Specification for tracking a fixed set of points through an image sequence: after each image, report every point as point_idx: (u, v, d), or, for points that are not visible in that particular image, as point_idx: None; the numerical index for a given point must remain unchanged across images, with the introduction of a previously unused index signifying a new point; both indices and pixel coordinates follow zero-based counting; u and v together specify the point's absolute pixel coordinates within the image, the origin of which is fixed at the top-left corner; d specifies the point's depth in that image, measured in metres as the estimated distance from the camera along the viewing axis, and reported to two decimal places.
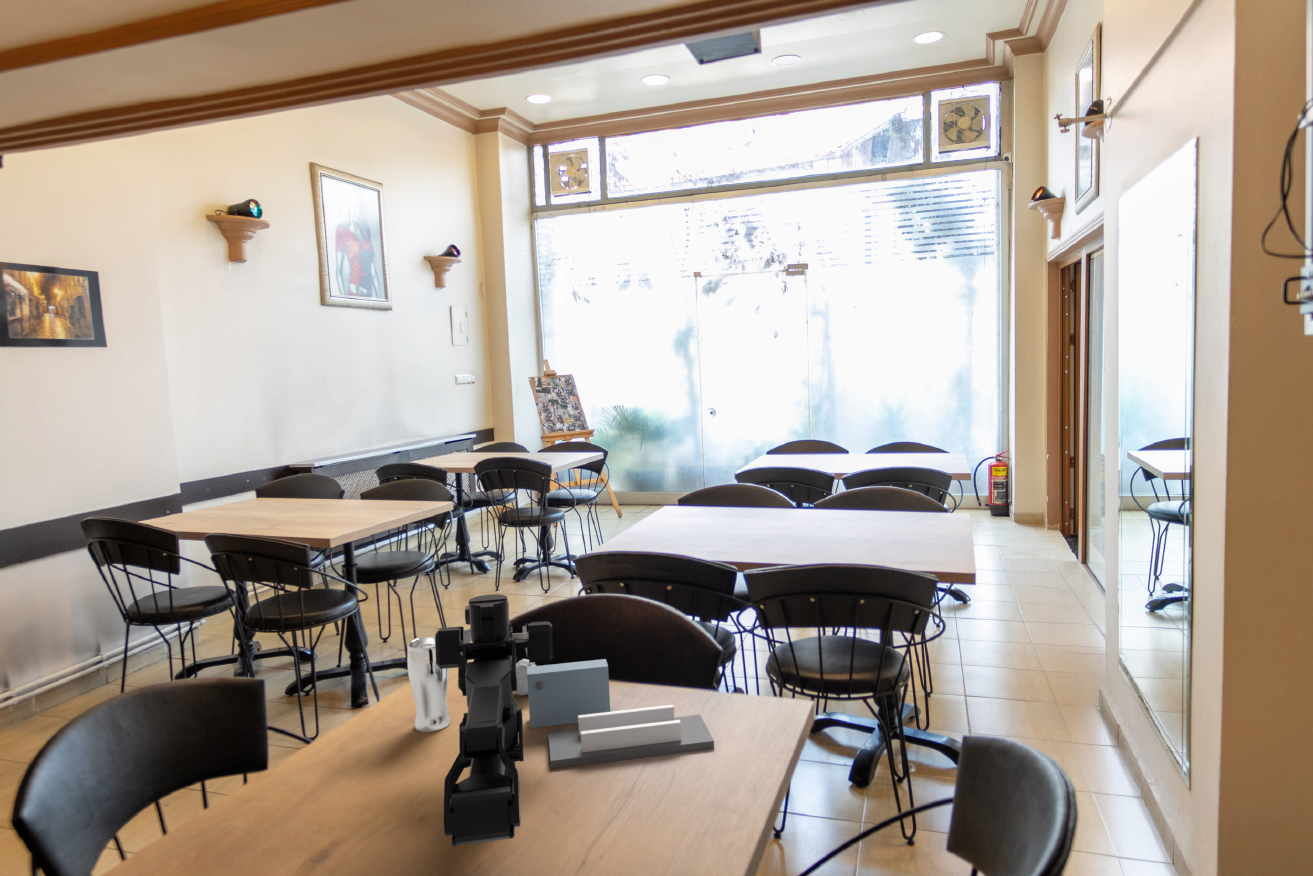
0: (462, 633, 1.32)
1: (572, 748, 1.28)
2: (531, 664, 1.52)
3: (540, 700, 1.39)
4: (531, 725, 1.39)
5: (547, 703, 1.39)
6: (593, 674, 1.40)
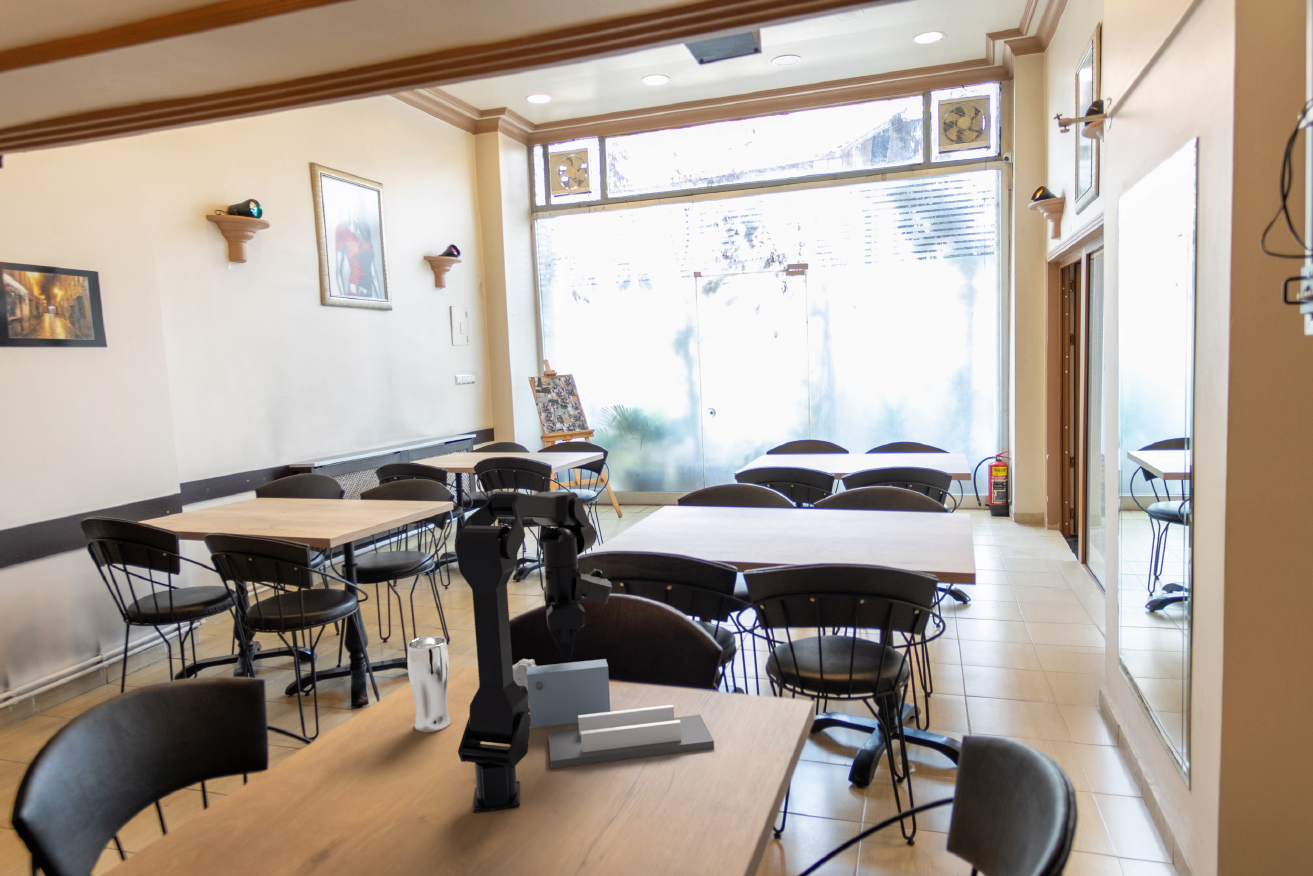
0: None
1: (572, 748, 1.28)
2: (531, 664, 1.52)
3: (540, 700, 1.39)
4: (531, 725, 1.39)
5: (547, 703, 1.39)
6: (593, 674, 1.40)
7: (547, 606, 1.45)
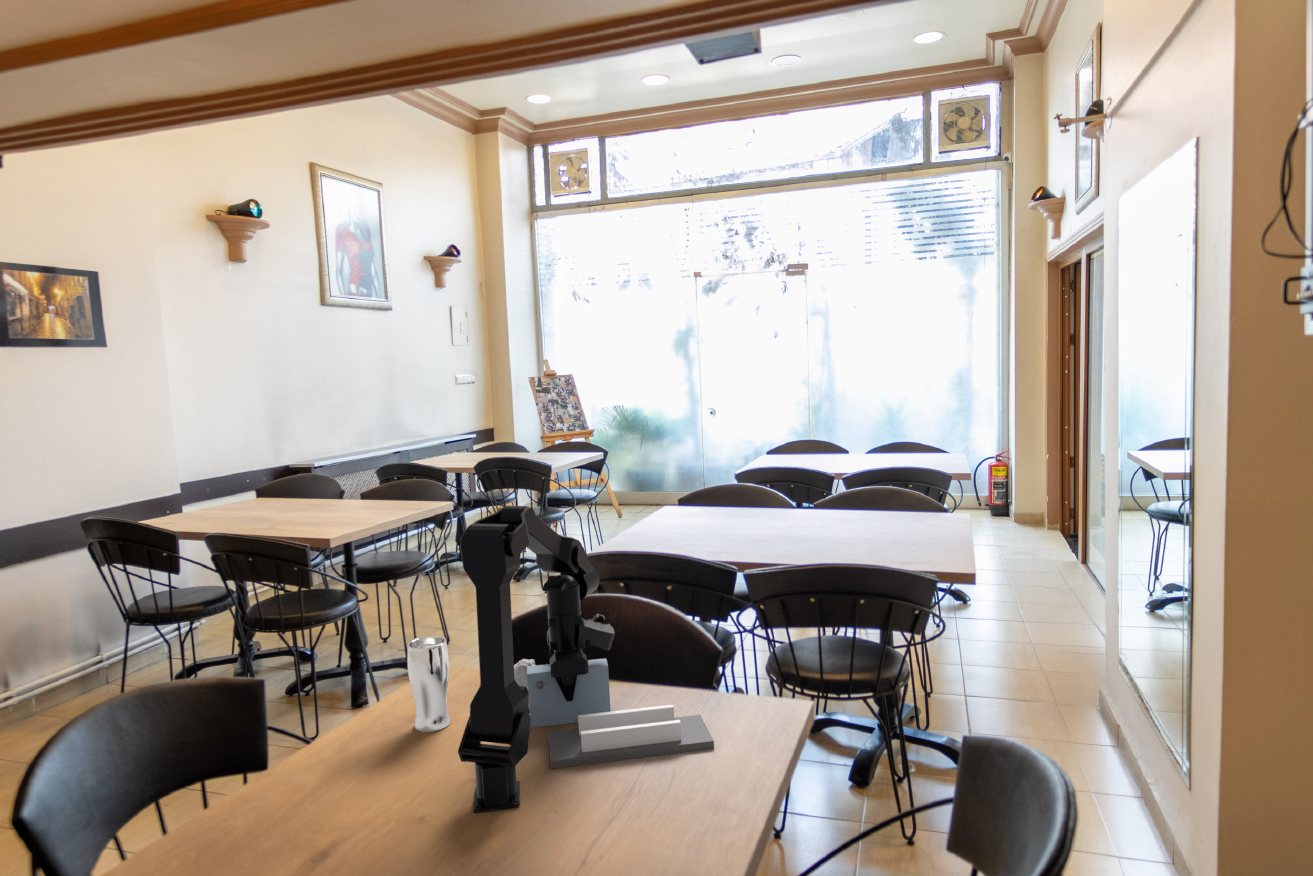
0: None
1: (572, 748, 1.28)
2: (531, 664, 1.52)
3: (540, 699, 1.39)
4: (531, 724, 1.39)
5: (547, 702, 1.39)
6: (594, 673, 1.40)
7: (551, 656, 1.43)
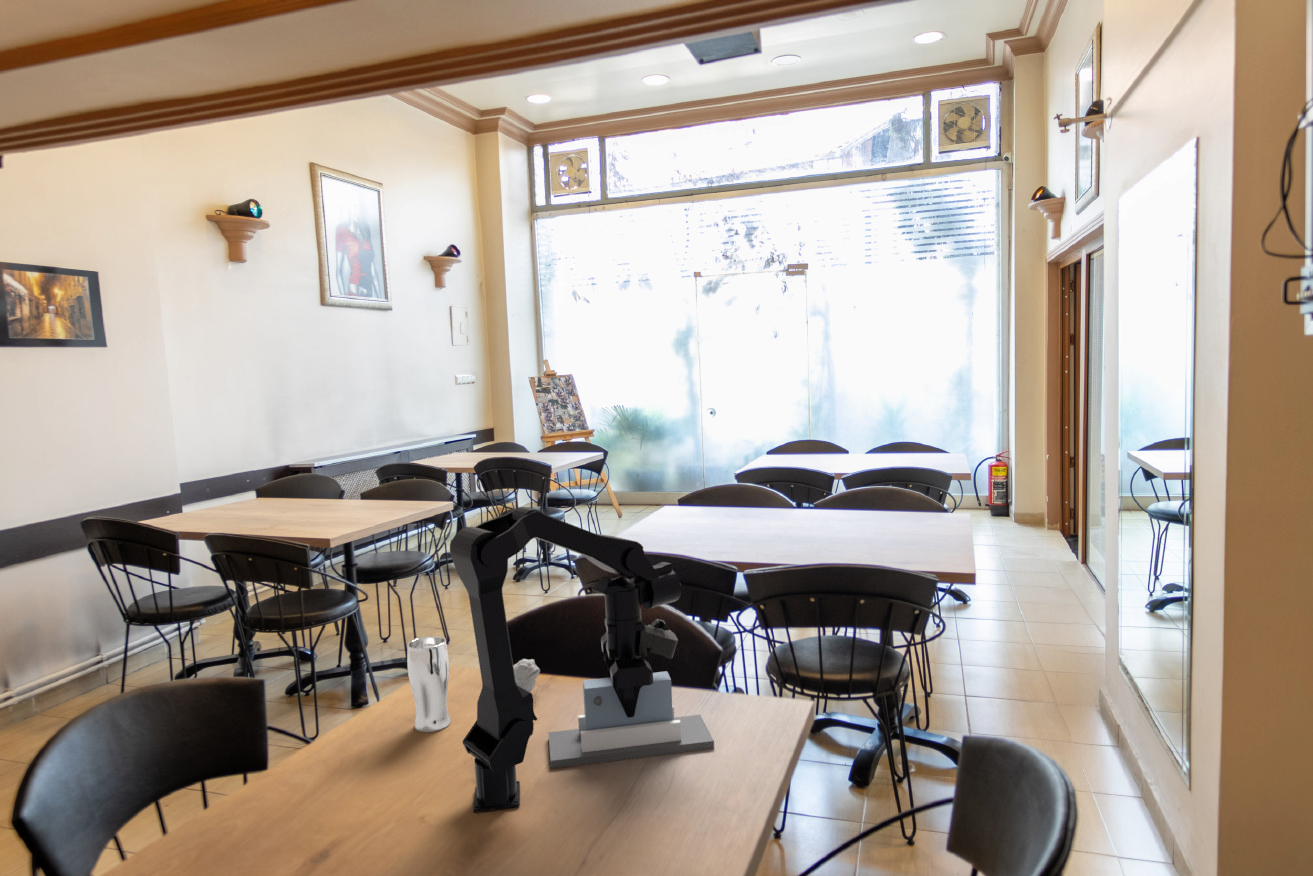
0: None
1: (572, 748, 1.28)
2: (531, 664, 1.52)
3: (598, 716, 1.28)
4: None
5: (606, 719, 1.28)
6: (655, 688, 1.29)
7: (607, 661, 1.34)
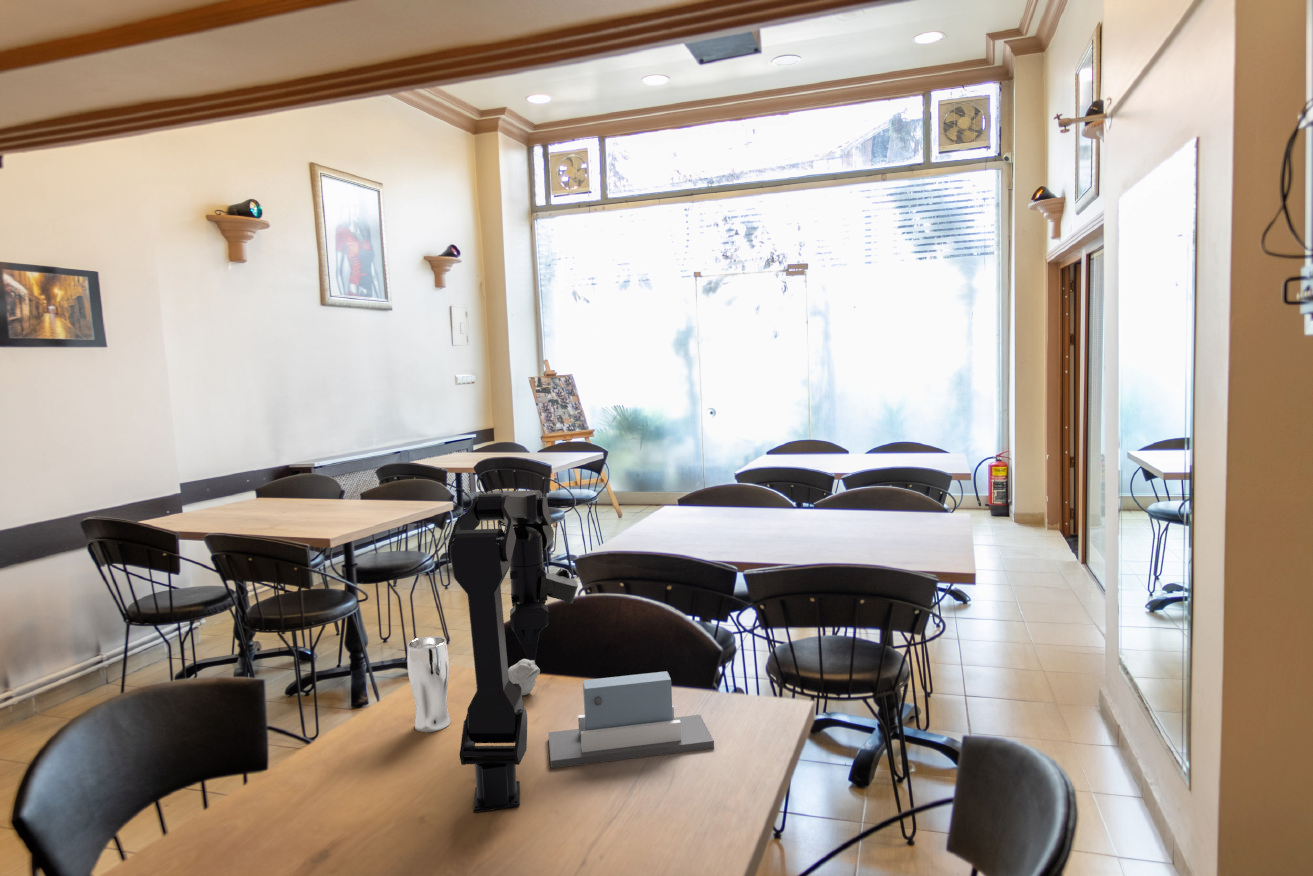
0: None
1: (572, 748, 1.28)
2: (531, 664, 1.52)
3: (598, 716, 1.28)
4: None
5: (606, 719, 1.28)
6: (655, 688, 1.29)
7: (514, 606, 1.44)
